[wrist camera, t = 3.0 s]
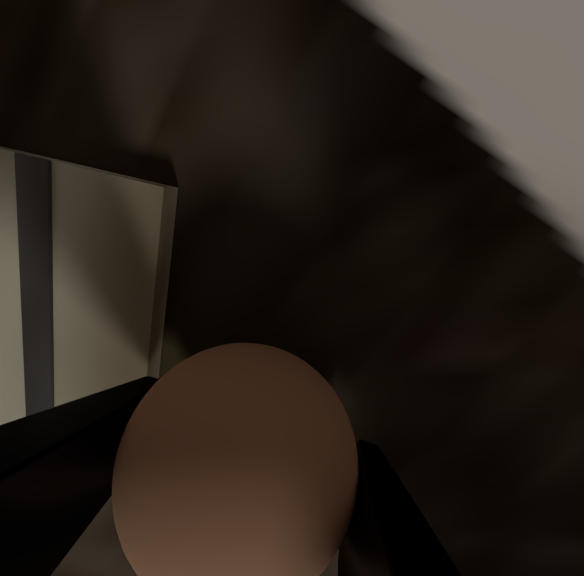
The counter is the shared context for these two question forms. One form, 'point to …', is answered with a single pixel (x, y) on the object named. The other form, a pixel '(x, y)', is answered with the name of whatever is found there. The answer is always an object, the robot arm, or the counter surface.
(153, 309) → the board
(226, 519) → the ball
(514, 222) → the counter surface
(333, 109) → the counter surface
